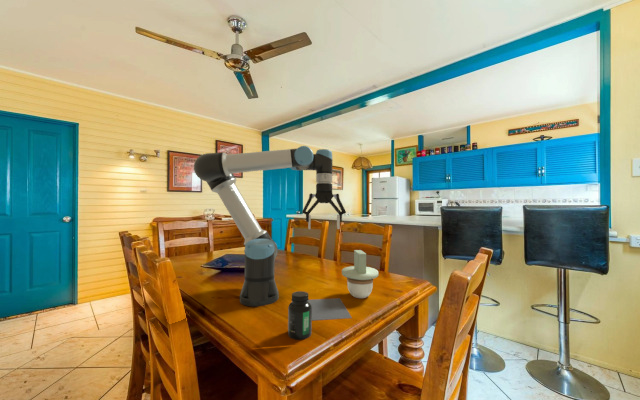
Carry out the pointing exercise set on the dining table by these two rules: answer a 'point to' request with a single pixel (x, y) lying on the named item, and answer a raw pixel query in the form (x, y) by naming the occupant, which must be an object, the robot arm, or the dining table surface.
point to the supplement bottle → (299, 316)
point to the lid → (360, 268)
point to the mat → (328, 309)
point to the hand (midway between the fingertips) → (323, 229)
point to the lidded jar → (359, 287)
